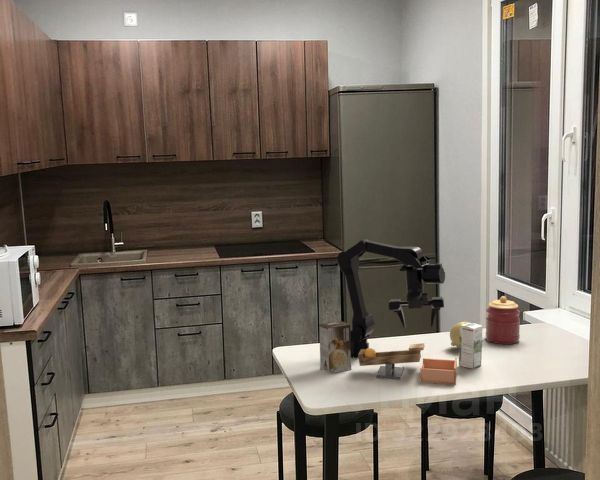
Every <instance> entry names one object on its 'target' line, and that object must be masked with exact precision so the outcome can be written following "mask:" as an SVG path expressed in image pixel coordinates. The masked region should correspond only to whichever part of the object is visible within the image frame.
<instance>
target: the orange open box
mask: <svg viewBox="0 0 600 480" xmlns="http://www.w3.org/2000/svg"><path fill="white" fill-rule="evenodd" d="M457 366H458V357H454V360H453V359H442V358H441V359H440V358H439V359H438V358H425V357H424V358H422V365H421V368H420V371H419V372H420V373H419V374H420V375H419V378H420V379H419V382H420V383H427V384H441V385H442V384H443V385H444V384H445V385H455V386H456V385H457V384H456V383H457V375H458V374H457V373H458V372H457V369H458V368H457Z"/></svg>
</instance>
